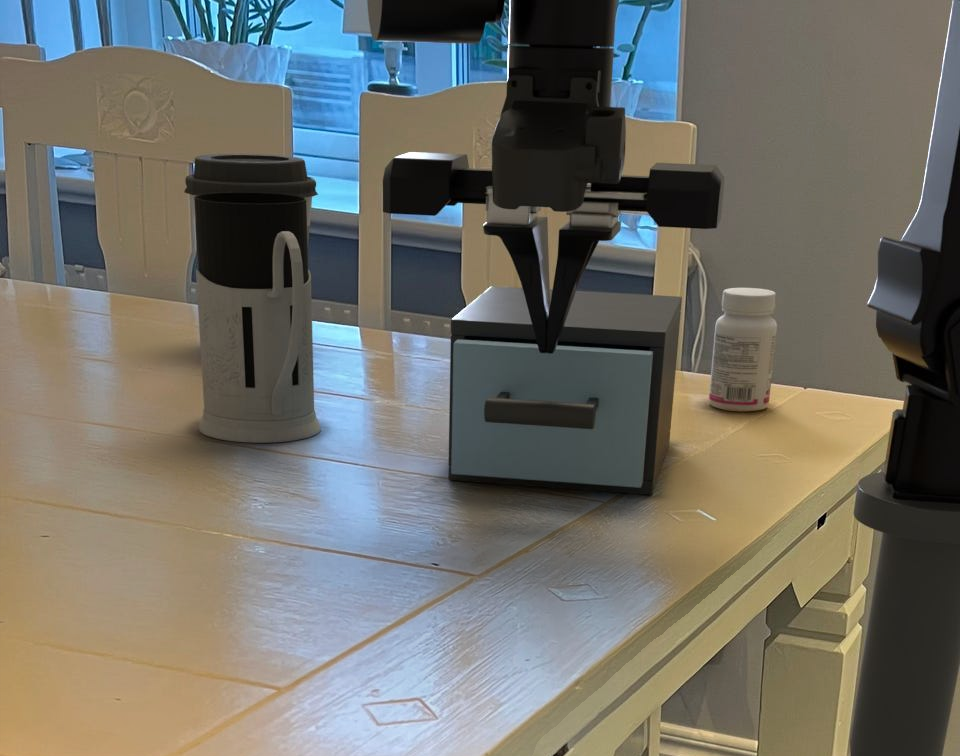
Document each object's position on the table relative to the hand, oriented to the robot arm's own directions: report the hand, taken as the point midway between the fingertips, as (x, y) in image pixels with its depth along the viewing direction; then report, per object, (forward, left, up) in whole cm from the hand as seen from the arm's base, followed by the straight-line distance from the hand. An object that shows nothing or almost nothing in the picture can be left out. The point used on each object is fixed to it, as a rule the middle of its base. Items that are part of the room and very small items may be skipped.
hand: (547, 352), depth 94 cm
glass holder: (+21, -13, -9) cm, 26 cm away
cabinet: (0, -12, -9) cm, 15 cm away
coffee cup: (+32, -46, -9) cm, 57 cm away
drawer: (0, -7, -8) cm, 11 cm away
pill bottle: (-11, -34, -9) cm, 37 cm away
